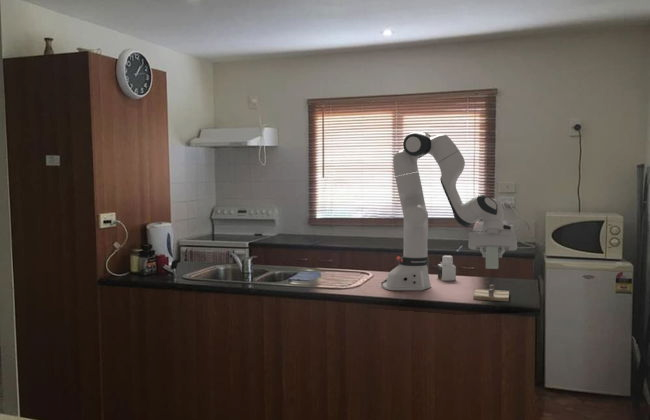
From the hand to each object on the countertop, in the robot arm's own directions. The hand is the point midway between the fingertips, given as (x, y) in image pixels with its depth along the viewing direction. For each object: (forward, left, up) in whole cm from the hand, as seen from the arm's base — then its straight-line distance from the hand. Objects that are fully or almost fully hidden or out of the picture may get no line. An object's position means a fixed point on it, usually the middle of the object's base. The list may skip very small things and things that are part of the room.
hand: (492, 256), depth 237 cm
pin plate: (0, +1, -17) cm, 17 cm away
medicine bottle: (-6, +42, -18) cm, 46 cm away
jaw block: (0, +1, -5) cm, 5 cm away
